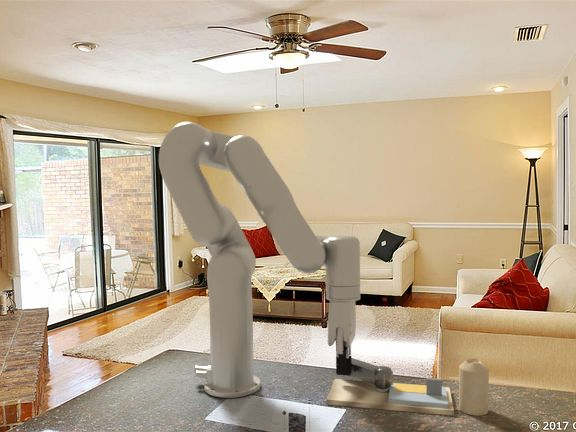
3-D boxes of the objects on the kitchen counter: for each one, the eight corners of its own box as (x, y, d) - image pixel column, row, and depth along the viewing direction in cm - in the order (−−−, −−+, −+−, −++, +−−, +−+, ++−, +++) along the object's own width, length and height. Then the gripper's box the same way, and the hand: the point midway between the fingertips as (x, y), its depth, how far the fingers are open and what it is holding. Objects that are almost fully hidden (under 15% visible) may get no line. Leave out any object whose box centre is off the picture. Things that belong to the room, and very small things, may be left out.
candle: (490, 417, 99) (491, 365, 98) (460, 414, 100) (461, 364, 99) (485, 405, 104) (486, 356, 103) (457, 403, 105) (457, 355, 105)
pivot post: (374, 396, 109) (374, 388, 109) (375, 391, 112) (375, 382, 112) (390, 398, 108) (390, 389, 108) (390, 392, 111) (390, 383, 111)
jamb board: (326, 404, 105) (326, 399, 105) (334, 383, 117) (334, 378, 117) (453, 415, 99) (453, 410, 99) (449, 392, 111) (449, 387, 111)
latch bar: (394, 384, 110) (394, 366, 109) (384, 389, 107) (384, 370, 107) (344, 367, 121) (344, 351, 120) (334, 371, 118) (333, 354, 118)
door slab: (388, 402, 103) (388, 383, 103) (390, 386, 112) (390, 368, 112) (448, 407, 100) (448, 387, 100) (445, 390, 109) (445, 372, 109)
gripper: (332, 285, 121) (333, 361, 122) (319, 298, 107) (320, 384, 107) (364, 286, 119) (364, 364, 120) (355, 299, 105) (356, 388, 105)
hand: (343, 373), depth 114 cm, fingers closed
